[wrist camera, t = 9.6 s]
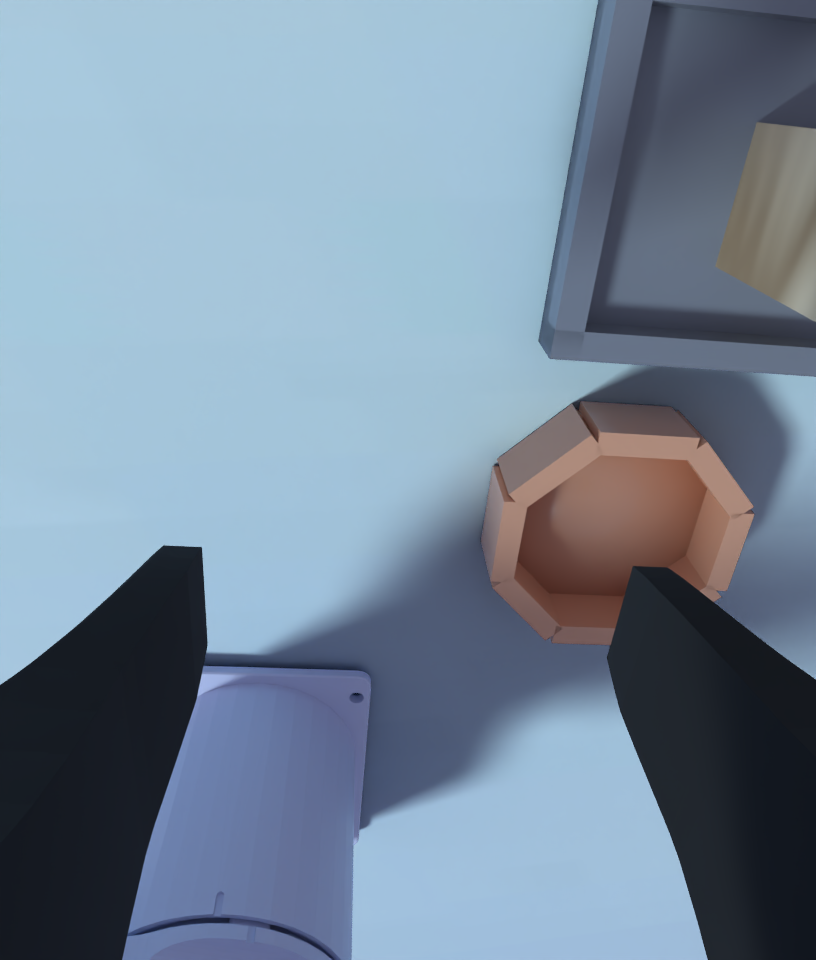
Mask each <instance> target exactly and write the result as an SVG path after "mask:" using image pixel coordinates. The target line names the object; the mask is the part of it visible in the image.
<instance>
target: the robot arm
mask: <svg viewBox="0 0 816 960" xmlns="http://www.w3.org/2000/svg"><path fill="white" fill-rule="evenodd" d="M206 650H207V627H206V610H205V593H204V576H203V558H202V547H184V546H163V547H161V548H160V549H159V550H158V551H157V552H156V553H155V554H153V555H152V556H151V557H150V558H149V559H148V560H147V561H146V562H145V563H144V564H143V565H142V566H141V567H140V568H139V569H138V570H137V571H136V572H135V573H134V574H133V575H132V576H131V577H130V578H129V579H128V580H126V581H125V582H124V583H123V584H122V585H121V586H120V587H119V588H118V589H117V590H116V591H115V592H114V593H113V594H112V595H111V596H110V597H108V598H107V599H106V600H105V601H104V602H103V603H102V604H101V605H100V606H98V607H97V608H96V609H95V610H94V611H93V612H92V613H91V614H90V615H88V616H87V617H86V618H85V619H84V620H83V621H82V622H81V623H80V624H78V625H77V626H76V627H75V628H74V629H73V630H71V631H70V632H69V633H68V634H66V635H65V636H64V637H63V638H61V639H60V640H59V641H58V642H57V643H55V644H54V645H53V646H52V647H50V648H49V649H48V650H47V651H46V652H44V653H43V654H42V655H41V656H39V657H38V658H37V659H36V660H34V661H33V662H32V663H30V664H29V665H28V666H26V667H25V668H24V669H22V670H21V671H20V672H18V673H17V674H15V675H14V676H13V677H11V678H10V679H8V680H7V681H5V682H4V683H2V684H1V685H0V960H351V957H352V900H353V845H355V844H356V843H357V842H358V839H359V827H360V815H361V803H362V791H363V779H364V767H365V755H366V743H367V731H368V719H369V707H370V695H371V678H370V676H369V675H368V674H367V673H365V672H363V671H357V670H324V669H290V668H257V667H224V666H204V660H205V655H206ZM607 660H608V664H609V668H610V673H611V677H612V681H613V685H614V689H615V693H616V697H617V700H618V704H619V708H620V711H621V714H622V717H623V719H624V722H625V724H626V727H627V730H628V732H629V735H630V737H631V740H632V742H633V745H634V747H635V750H636V752H637V755H638V757H639V759H640V762H641V764H642V767H643V769H644V772H645V774H646V776H647V779H648V781H649V784H650V786H651V789H652V791H653V794H654V796H655V798H656V801H657V803H658V806H659V808H660V811H661V813H662V815H663V818H664V820H665V823H666V825H667V828H668V830H669V833H670V835H671V838H672V841H673V844H674V846H675V849H676V852H677V855H678V858H679V860H680V864H681V867H682V870H683V874H684V877H685V881H686V884H687V887H688V891H689V894H690V897H691V901H692V904H693V908H694V911H695V914H696V918H697V921H698V925H699V929H700V932H701V936H702V940H703V944H704V947H705V951H706V955H707V958H708V960H816V679H814V678H813V677H811V676H810V675H808V674H807V673H806V672H804V671H803V670H801V669H800V668H799V667H797V666H796V665H794V664H793V663H791V662H790V661H789V660H787V659H786V658H785V657H783V656H782V655H781V654H779V653H778V652H777V651H775V650H774V649H773V648H771V647H770V646H769V645H767V644H766V643H765V642H763V641H762V640H761V639H759V638H758V637H757V636H756V635H754V634H753V633H752V632H750V631H749V630H748V629H747V628H745V627H744V626H743V625H742V624H740V623H739V622H738V621H736V620H735V619H734V618H733V617H731V616H730V615H729V614H728V613H726V612H725V611H724V610H723V609H721V608H720V607H719V606H718V605H716V604H715V603H714V602H713V601H711V600H710V599H709V598H708V597H706V596H705V595H704V594H703V593H701V592H700V591H699V590H698V589H696V588H695V587H694V586H692V585H691V584H690V583H689V582H687V581H686V580H685V579H683V578H682V577H681V576H679V575H678V574H676V573H675V572H674V571H672V570H671V569H669V568H668V567H645V566H633V567H632V571H631V574H630V578H629V582H628V585H627V589H626V592H625V596H624V599H623V603H622V606H621V610H620V613H619V617H618V621H617V624H616V628H615V631H614V635H613V638H612V642H611V645H610V649H609V652H608V656H607ZM353 693H361V695H352V694H353Z"/></svg>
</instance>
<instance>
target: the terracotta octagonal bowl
mask: <svg viewBox="0 0 816 960" xmlns="http://www.w3.org/2000/svg"><path fill="white" fill-rule="evenodd" d="M497 461H498V464H499V466H493V467H492V473H491V479H490V486H489V492H488V498H487V505H486V511H485V517H484V524H483V530H482V536H481V545H482V549H483V553H484V557H485V561H486V565H487V569H488V574H489V578H490V581H491V584H492V588H493V589H494V590H495V591H496V592H497V593H498V594H499V595H500V596H501V597H502V598H503V599H504V600H505V601H506V602H507V603H508V604H509V605H510V606H511V607H512V608H513V609H514V610H515V611H516V612H517V613H518V614H519V615H520V616H521V617H522V618H523V619H524V620H525V621H526V622H527V623H528V624H529V625H530V626H531V627H532V628H533V629H534V630H535V631H536V632H537V633H538V634H539V635H540V636H541V637H542V638H543V639H544V640H547V639H548V638H550V639H551V642H552V643H561V644H591V645H611V642H612V638H613V635H614V631H615V628H616V624H617V621H618V617H619V613H620V610H621V606H622V603H623V599H624V596H625V592H626V589H627V585H628V582H629V578H630V574H631V571H632V567H633V566H645V567H668V568H669V569H671V570H672V571H674V572H675V573H676V574H678V575H679V576H681V577H682V578H683V579H685V580H686V581H687V582H689V583H690V584H691V585H692V586H694V587H695V588H696V589H698V590H699V591H700V592H701V593H703V594H704V595H705V596H706V597H708V598H709V599H710V600H711V601H713V602H714V601H716V600H718V599H719V598H721V596H720V594H719V593H718V591H727V589H728V586H729V584H730V581H731V578H732V575H733V573H734V570H735V567H736V564H737V562H738V559H739V556H740V553H741V551H742V548H743V545H744V542H745V539H746V537H747V534H748V531H749V528H750V526H751V523H752V520H753V517H754V515H755V514H754V513H753V512H752V511H751V508H753V507H754V506H753V505H752V503H751V502H750V501H749V499H748V498H747V496H746V495H745V494H744V492H743V491H742V489H741V488H740V487H739V485H738V484H737V482H736V481H735V480H734V478H733V477H732V475H731V474H730V473H729V471H728V470H727V468H726V467H725V466H724V464H723V463H722V461H721V460H720V459H719V457H718V456H717V454H716V453H715V452H714V450H713V449H712V447H711V446H710V445H709V443H708V442H707V441H706V440H705V439H704V438H703V436H702V435H701V434H700V433H699V432H698V431H697V430H696V429H695V428H694V427H693V426H692V425H691V424H690V422H689V421H688V420H687V419H686V418H685V417H684V416H683V415H682V414H681V413H680V412H679V411H677V412H676V411H675V410H674V409H673V408H672V407H668V406H652V405H636V404H619V403H603V402H587V401H580V406H579V410H577V409H576V408H575V407H574V406H573V404H571V405H570V406H568V407H567V408H565V409H564V410H563V411H561V412H560V413H559V414H557V415H556V416H555V417H553V418H552V419H551V420H549V421H548V422H547V423H545V424H544V425H542V426H541V427H540V428H538V429H537V430H536V431H534V432H533V433H532V434H530V435H529V436H528V437H526V438H525V439H524V440H522V441H521V442H519V443H518V444H517V445H515V446H514V447H513V448H511V449H510V450H509V451H507V452H506V453H505V454H503V455H502V456H501V457H499V458H498V459H497Z"/></svg>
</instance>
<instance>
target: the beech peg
mask: <svg viewBox="0 0 816 960" xmlns="http://www.w3.org/2000/svg"><path fill="white" fill-rule="evenodd" d="M715 267H717V268H718V269H720V270H722V271H724V272H726V273H728V274H729V275H731V276H733V277H735V278H737V279H738V280H740V281H742V282H744V283H746V284H747V285H749V286H751V287H753V288H755V289H757V290H758V291H760V292H762V293H764V294H766V295H767V296H769V297H771V298H773V299H775V300H776V301H778V302H780V303H782V304H784V305H786V306H787V307H789V308H791V309H793V310H795V311H796V312H798V313H800V314H802V315H804V316H805V317H807V318H809V319H811V320H813V321H815V322H816V128H807V127H798V126H788V125H779V124H769V123H760V122H757V123H756V127H755V130H754V134H753V137H752V141H751V144H750V148H749V151H748V154H747V158H746V161H745V165H744V168H743V172H742V175H741V179H740V182H739V186H738V189H737V193H736V196H735V200H734V203H733V206H732V210H731V213H730V217H729V220H728V224H727V227H726V231H725V234H724V238H723V241H722V245H721V248H720V252H719V255H718V259H717V262H716V265H715Z"/></svg>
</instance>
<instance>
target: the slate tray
mask: <svg viewBox="0 0 816 960" xmlns="http://www.w3.org/2000/svg"><path fill="white" fill-rule="evenodd" d="M757 122H760V123H769V124H779V125H788V126H798V127H807V128H816V0H598V5H597V11H596V17H595V22H594V28H593V34H592V39H591V45H590V51H589V56H588V62H587V68H586V73H585V79H584V85H583V91H582V96H581V102H580V108H579V113H578V119H577V125H576V130H575V136H574V142H573V147H572V153H571V159H570V164H569V170H568V176H567V182H566V187H565V193H564V199H563V204H562V210H561V216H560V221H559V227H558V233H557V238H556V244H555V250H554V255H553V261H552V267H551V272H550V278H549V284H548V290H547V295H546V301H545V307H544V312H543V318H542V324H541V329H540V335H539V343H540V344H541V346H542V348H543V349H544V351H545V352H546V354H547V355H548V357H549V358H550V359H560V360H575V361H590V362H605V363H619V364H634V365H649V366H664V367H679V368H694V369H709V370H724V371H739V372H754V373H769V374H784V375H799V376H814V377H816V322H815V321H813V320H811V319H809V318H807V317H805V316H804V315H802V314H800V313H798V312H796V311H795V310H793V309H791V308H789V307H787V306H786V305H784V304H782V303H780V302H778V301H776V300H775V299H773V298H771V297H769V296H767V295H766V294H764V293H762V292H760V291H758V290H757V289H755V288H753V287H751V286H749V285H747V284H746V283H744V282H742V281H740V280H738V279H737V278H735V277H733V276H731V275H729V274H728V273H726V272H724V271H722V270H720V269H718V268H717V267H715V265H716V262H717V259H718V255H719V252H720V248H721V245H722V241H723V238H724V234H725V231H726V227H727V224H728V220H729V217H730V213H731V210H732V206H733V203H734V200H735V196H736V193H737V189H738V186H739V182H740V179H741V175H742V172H743V168H744V165H745V161H746V158H747V154H748V151H749V148H750V144H751V141H752V137H753V134H754V130H755V127H756V123H757Z"/></svg>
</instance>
